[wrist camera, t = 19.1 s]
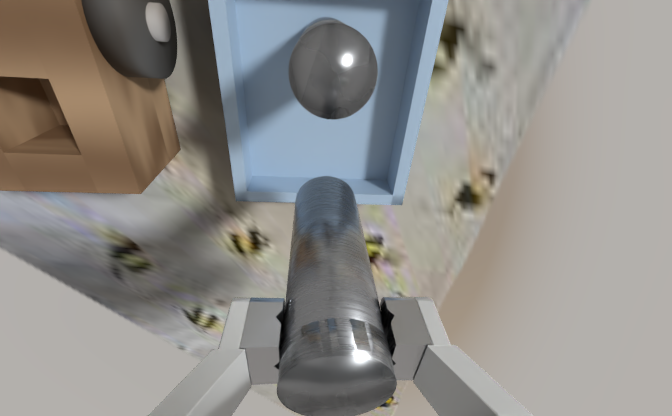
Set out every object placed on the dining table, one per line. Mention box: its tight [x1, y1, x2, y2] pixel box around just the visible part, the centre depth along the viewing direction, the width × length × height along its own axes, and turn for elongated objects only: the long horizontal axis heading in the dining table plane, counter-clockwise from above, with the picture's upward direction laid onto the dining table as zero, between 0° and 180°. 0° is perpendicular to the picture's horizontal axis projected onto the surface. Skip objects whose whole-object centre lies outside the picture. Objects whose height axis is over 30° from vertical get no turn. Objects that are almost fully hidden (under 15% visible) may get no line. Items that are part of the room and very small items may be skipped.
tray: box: [208, 0, 448, 205], centre depth 19 cm, size 14×12×3 cm
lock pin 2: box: [277, 176, 397, 416], centre depth 11 cm, size 3×3×9 cm
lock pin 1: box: [288, 17, 378, 120], centre depth 14 cm, size 3×3×9 cm
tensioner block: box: [0, 0, 181, 194], centre depth 14 cm, size 16×10×6 cm, turn 176°
